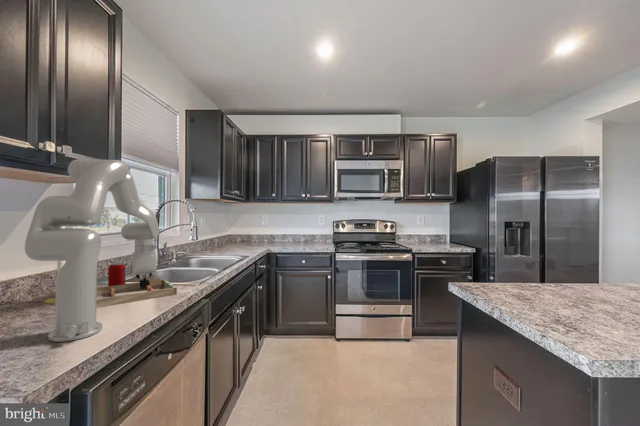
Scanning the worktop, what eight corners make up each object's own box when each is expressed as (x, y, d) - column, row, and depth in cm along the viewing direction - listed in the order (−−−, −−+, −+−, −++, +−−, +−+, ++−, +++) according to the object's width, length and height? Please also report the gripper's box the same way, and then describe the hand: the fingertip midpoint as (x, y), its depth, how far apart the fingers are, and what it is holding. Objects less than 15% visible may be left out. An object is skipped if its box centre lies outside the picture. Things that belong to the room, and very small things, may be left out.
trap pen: (176, 294, 130) (176, 287, 130) (91, 308, 111) (91, 300, 111) (164, 285, 147) (164, 279, 147) (88, 295, 127) (88, 288, 127)
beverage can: (128, 287, 143) (128, 262, 143) (117, 290, 136) (118, 264, 136) (116, 286, 143) (116, 262, 144) (104, 290, 137) (104, 264, 137)
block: (161, 288, 141) (161, 280, 141) (149, 290, 137) (149, 281, 137) (158, 286, 144) (159, 278, 144) (147, 287, 141) (147, 279, 141)
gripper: (159, 247, 145) (159, 283, 145) (123, 249, 135) (123, 288, 135) (163, 248, 139) (163, 286, 139) (126, 251, 129) (126, 292, 129)
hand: (143, 287), depth 137 cm, fingers closed
